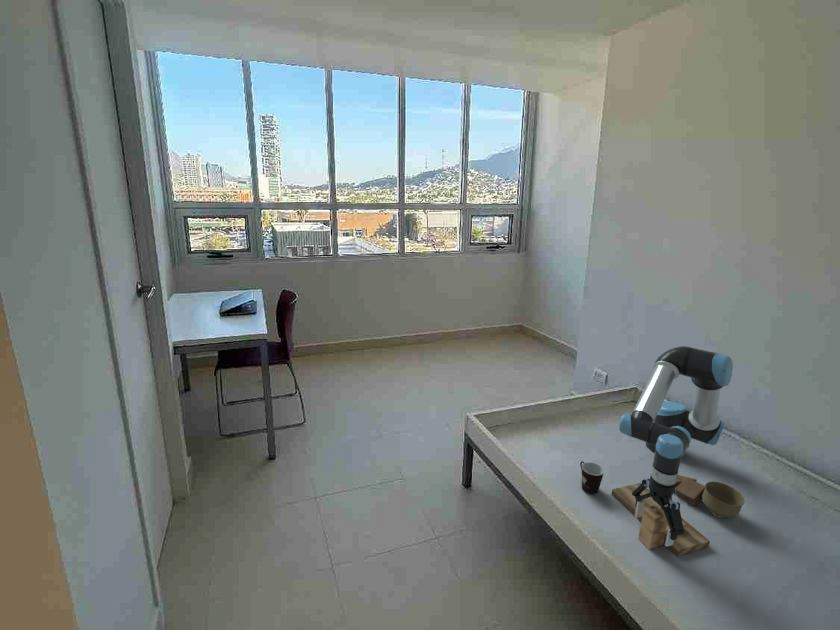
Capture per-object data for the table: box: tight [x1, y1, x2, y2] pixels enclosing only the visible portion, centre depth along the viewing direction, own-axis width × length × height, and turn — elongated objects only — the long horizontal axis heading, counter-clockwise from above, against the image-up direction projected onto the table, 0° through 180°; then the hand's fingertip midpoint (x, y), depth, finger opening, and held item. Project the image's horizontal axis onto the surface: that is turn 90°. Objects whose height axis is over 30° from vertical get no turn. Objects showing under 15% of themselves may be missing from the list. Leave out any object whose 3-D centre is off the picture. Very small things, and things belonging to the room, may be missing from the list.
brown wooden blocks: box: [674, 474, 705, 507], centre depth 178 cm, size 8×13×18 cm
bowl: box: [702, 481, 745, 518], centre depth 165 cm, size 13×13×10 cm
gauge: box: [637, 505, 687, 550], centre depth 152 cm, size 18×5×14 cm, turn 107°
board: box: [611, 482, 711, 557], centre depth 163 cm, size 14×32×2 cm, turn 17°
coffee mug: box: [579, 460, 605, 495], centre depth 179 cm, size 12×9×10 cm
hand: (652, 530), depth 151 cm, fingers open, 13 cm apart
